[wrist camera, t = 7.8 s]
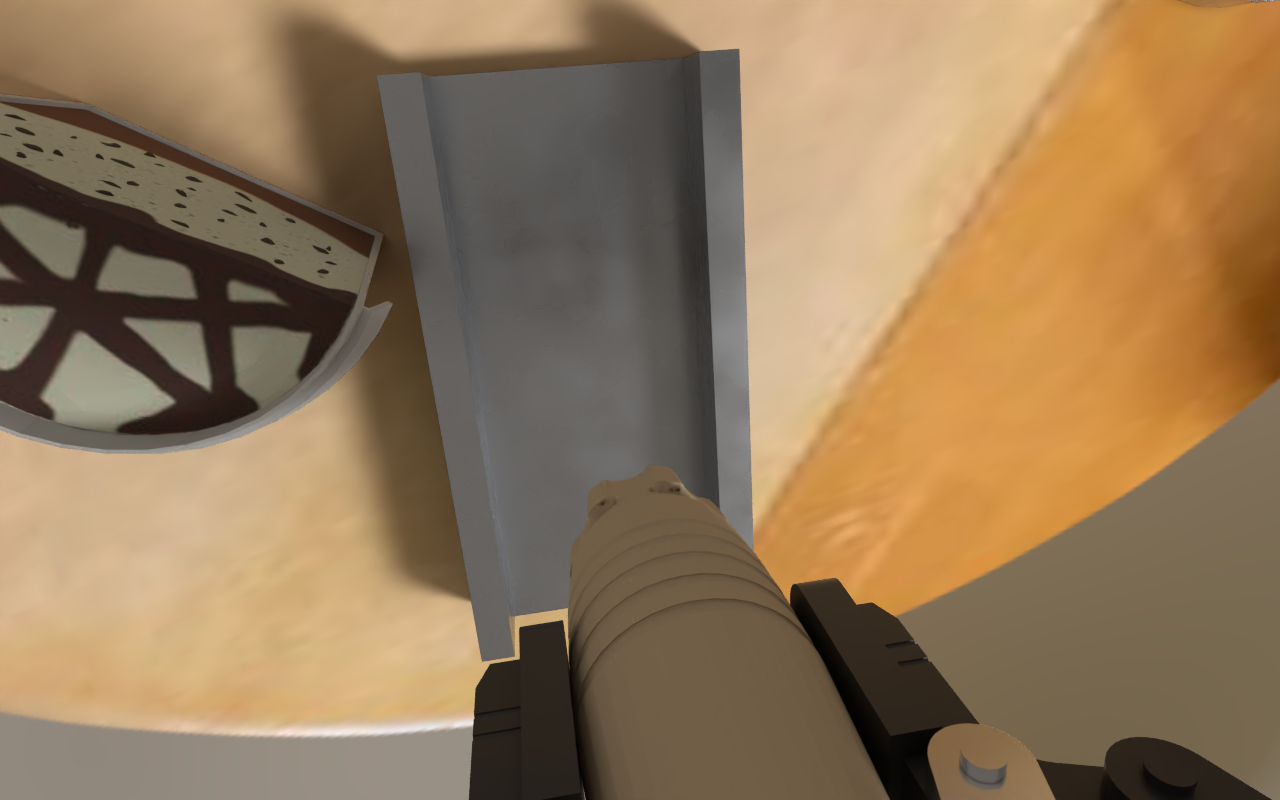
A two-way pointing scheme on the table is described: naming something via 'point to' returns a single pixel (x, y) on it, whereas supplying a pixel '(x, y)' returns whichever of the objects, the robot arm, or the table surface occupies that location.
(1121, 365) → the table surface
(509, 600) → the track
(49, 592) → the table surface
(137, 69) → the table surface
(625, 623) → the handle
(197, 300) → the food container
